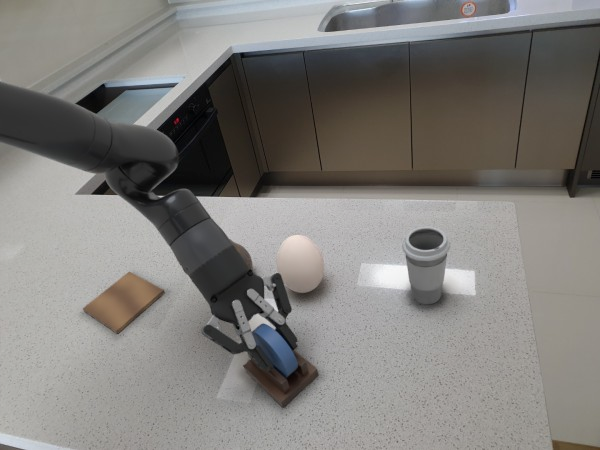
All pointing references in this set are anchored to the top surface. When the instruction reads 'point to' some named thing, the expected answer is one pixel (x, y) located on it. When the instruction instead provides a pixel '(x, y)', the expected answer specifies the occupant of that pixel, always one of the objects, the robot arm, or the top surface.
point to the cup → (426, 262)
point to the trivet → (123, 301)
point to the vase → (243, 253)
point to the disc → (275, 349)
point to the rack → (283, 379)
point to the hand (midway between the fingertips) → (282, 358)
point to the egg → (300, 264)
